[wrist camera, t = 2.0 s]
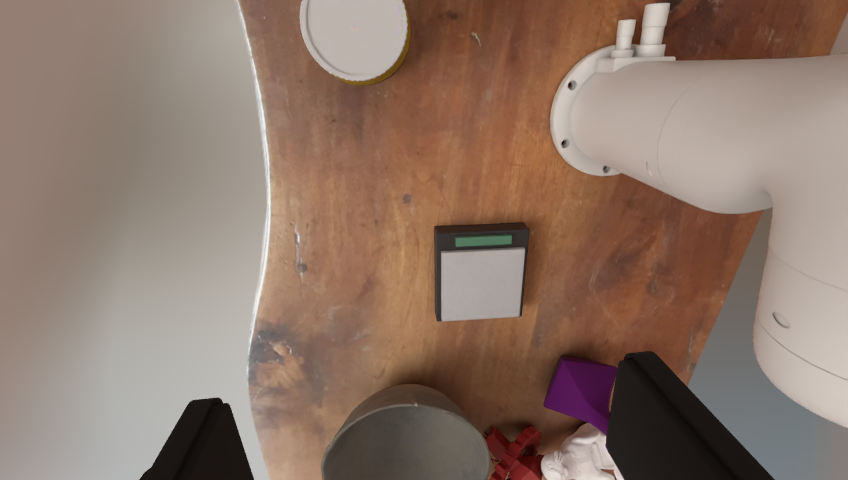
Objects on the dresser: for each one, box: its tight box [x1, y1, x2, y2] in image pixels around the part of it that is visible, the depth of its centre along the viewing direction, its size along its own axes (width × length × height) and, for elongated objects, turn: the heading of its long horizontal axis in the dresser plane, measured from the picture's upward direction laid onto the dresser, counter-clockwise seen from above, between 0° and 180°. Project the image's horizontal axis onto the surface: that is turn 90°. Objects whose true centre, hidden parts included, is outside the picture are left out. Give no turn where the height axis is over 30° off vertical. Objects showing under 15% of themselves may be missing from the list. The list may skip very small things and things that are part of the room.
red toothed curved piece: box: [483, 425, 544, 480], centre depth 56 cm, size 11×12×8 cm
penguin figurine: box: [541, 423, 624, 480], centre depth 54 cm, size 6×8×12 cm
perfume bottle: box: [544, 356, 618, 453], centre depth 46 cm, size 8×8×18 cm
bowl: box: [321, 384, 491, 480], centre depth 50 cm, size 19×19×10 cm
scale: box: [434, 223, 529, 321], centre depth 46 cm, size 11×10×3 cm
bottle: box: [300, 0, 411, 86], centre depth 30 cm, size 7×7×15 cm
